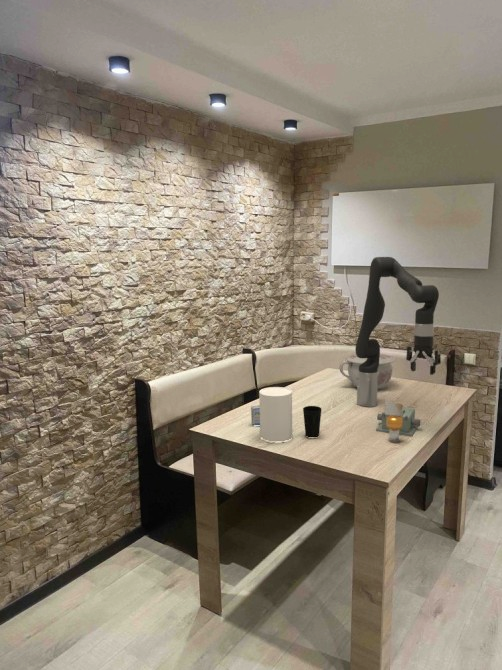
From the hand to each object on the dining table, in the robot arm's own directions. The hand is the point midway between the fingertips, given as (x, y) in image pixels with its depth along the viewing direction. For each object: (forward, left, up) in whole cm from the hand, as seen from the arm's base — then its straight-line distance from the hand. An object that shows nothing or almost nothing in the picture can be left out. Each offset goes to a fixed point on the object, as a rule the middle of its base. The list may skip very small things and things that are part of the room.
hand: (422, 372), depth 206 cm
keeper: (-10, -5, -19) cm, 22 cm away
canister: (-53, -31, -26) cm, 67 cm away
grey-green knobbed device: (-10, +3, -26) cm, 28 cm away
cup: (-40, -23, -26) cm, 53 cm away
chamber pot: (-39, +61, -26) cm, 77 cm away
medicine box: (-66, -20, -26) cm, 74 cm away
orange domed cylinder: (-8, -14, -26) cm, 31 cm away
